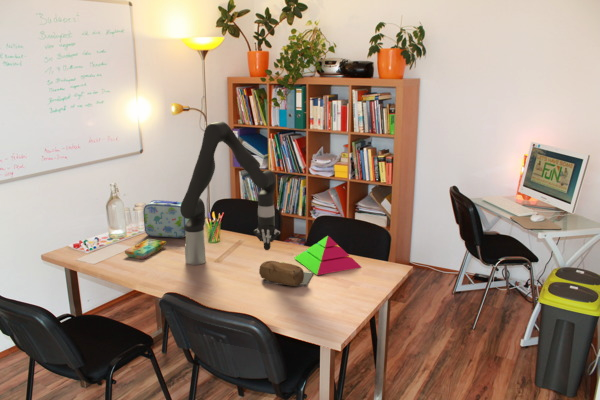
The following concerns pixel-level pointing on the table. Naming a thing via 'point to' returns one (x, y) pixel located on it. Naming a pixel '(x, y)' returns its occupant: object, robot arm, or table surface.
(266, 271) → the brown rounded elongated part
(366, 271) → the table surface
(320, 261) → the pyramid toy
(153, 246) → the puzzle game
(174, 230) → the lunch box
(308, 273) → the mat
